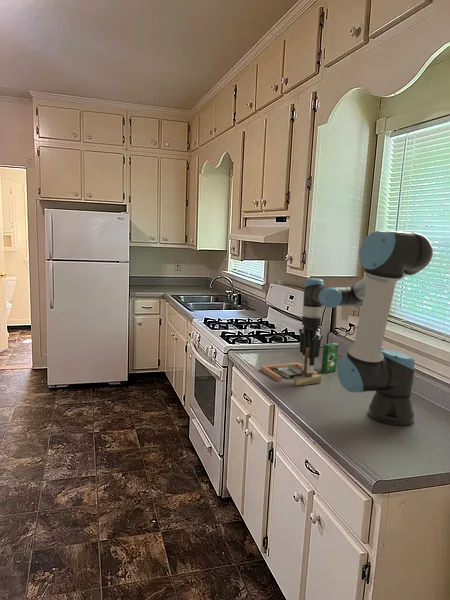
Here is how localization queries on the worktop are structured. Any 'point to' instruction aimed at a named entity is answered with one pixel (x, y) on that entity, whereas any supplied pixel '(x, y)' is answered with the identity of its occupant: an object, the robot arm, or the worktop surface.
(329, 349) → the coffee box
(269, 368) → the tile bay
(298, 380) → the wooden scraper
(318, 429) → the worktop surface
